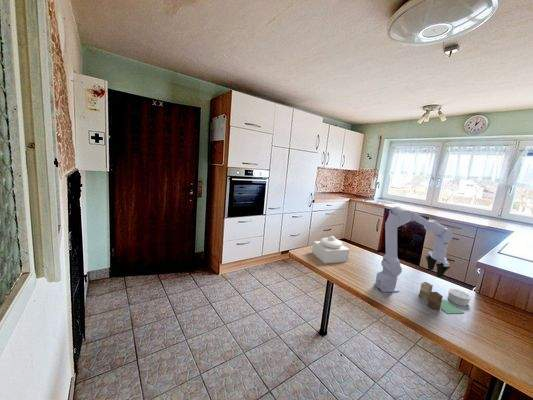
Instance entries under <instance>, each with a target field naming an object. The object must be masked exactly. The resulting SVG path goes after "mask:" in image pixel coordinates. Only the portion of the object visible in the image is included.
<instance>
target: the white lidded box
mask: <svg viewBox="0 0 533 400" xmlns="http://www.w3.org/2000/svg"><path fill="white" fill-rule="evenodd" d="M350 251H351V250H350V248H348V247H347V246H346V245H344V244H343V242H342V241H341V240H340V239H338V238H336V237H335V236H334V235H329V236H328V237H322V238H320V240H315V241H312V248H311V253H312V254H313V255H314V256H315V257H316V258H318V259H319V260H320V261H321V262H322V263H323V264H325V265H326V264H335V263H336V264H337V263H346V262H348V261H349V252H350Z"/></svg>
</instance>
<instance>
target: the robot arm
mask: <svg viewBox="0 0 533 400" xmlns="http://www.w3.org/2000/svg"><path fill="white" fill-rule="evenodd" d="M414 221H415V222H416V223H418V224H420V225H422V226H423V228H424V229H425V230H426V231H428V232H430V233H432V234H433V235H434V236H435V238H434V244H433V248H432V251H428V252H427V255H426V256H425V259H426V262H427V269H428V271H433V270H434V268H435V266H436V277H437V278H443V275H444V274H445V273H446V272H447V271H448V270H449V269H450V268H451V267H450V263H449V262H448V259H447V257H446V256H447V251H448V246H449V244H450V242H451V240H452V239H453V238H454V233H453V231H452V229H451V228H447V227H446V226H445V225H444V224H440V223H439V222H438V220H436V219H426V218H425V217H422V216H421V215H420V214H418V213H416V212H415V211H411V210H408V209H406V208H402V207H400V206H394V207H392V208H391V209H390V210H389V211H388V216H387V219H386V221H385V222H384V223H385V225H384V229H385V230H384V231H385V232H384V233H385V236H384V237H385V242H384V243H385V254H384V255H383V256H382V260H381V266H382V270H381V271H379V272H377V273H376V276H375V281H374V282H373V284H374V286H376V287H377V288H378V289H379V290H380V291H382V292H383V293H388V292H389V293H391V292H392V293H395V292H397V293H398V292H400V290H399V289H397V288H396V287H397V280H398V276H399V275H401V273H402V272H403V268H402V266H401V262H400V259H399V258H398V228H399V227H401V226H403V225H405V224H408V223H410V222H414ZM437 262H438V263H437Z"/></svg>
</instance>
